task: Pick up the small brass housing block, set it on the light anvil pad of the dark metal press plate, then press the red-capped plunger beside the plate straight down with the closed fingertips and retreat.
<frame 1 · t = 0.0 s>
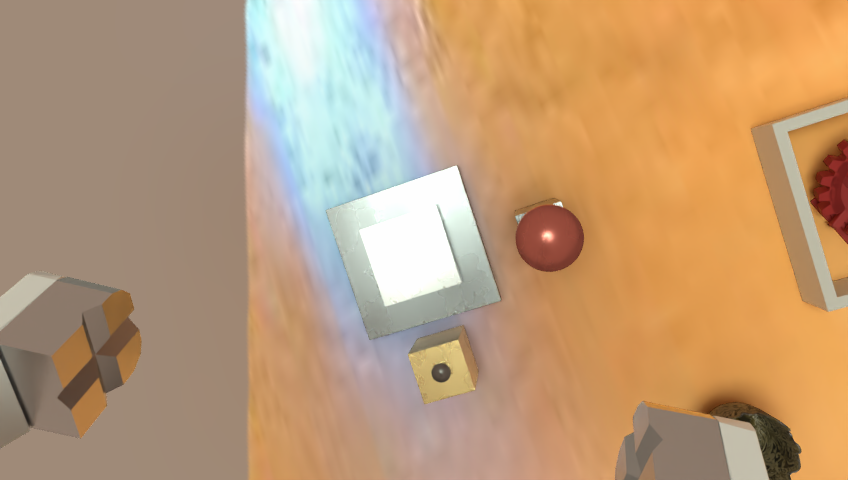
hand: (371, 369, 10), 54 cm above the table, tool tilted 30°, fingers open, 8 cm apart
plunger: (545, 232, 53), point 10 cm above the table, slide at 0.0 cm
cup: (723, 420, 63), on the table
press: (413, 253, 65), on the table
housing: (447, 354, 66), on the table
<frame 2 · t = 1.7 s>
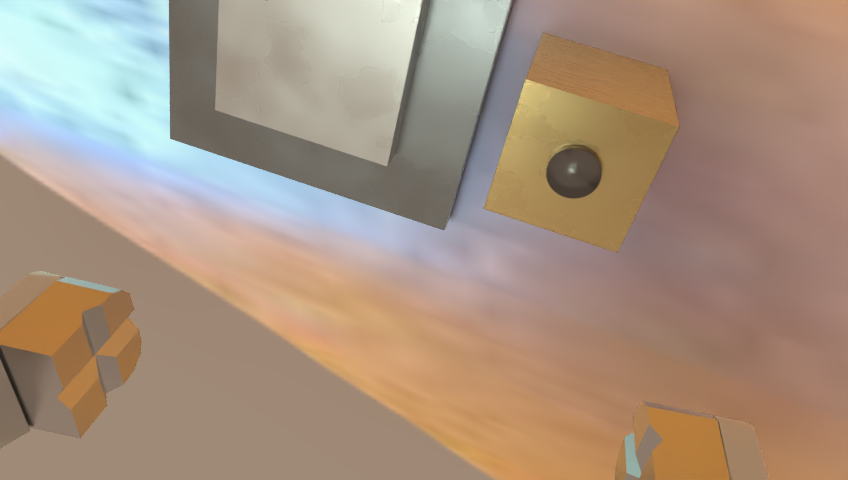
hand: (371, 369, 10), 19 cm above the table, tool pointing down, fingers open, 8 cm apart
press: (333, 32, 27), on the table
housing: (582, 108, 26), on the table
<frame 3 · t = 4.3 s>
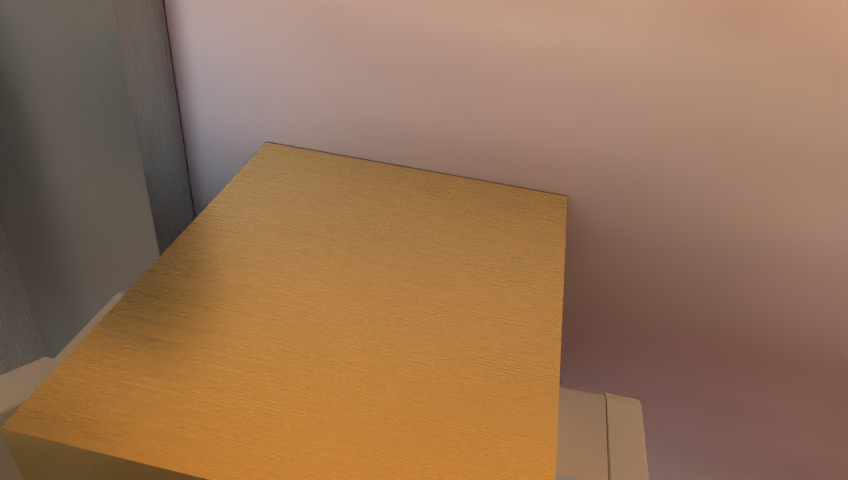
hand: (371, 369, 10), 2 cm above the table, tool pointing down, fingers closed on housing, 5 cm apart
housing: (402, 287, 12), on the table, touching gripper
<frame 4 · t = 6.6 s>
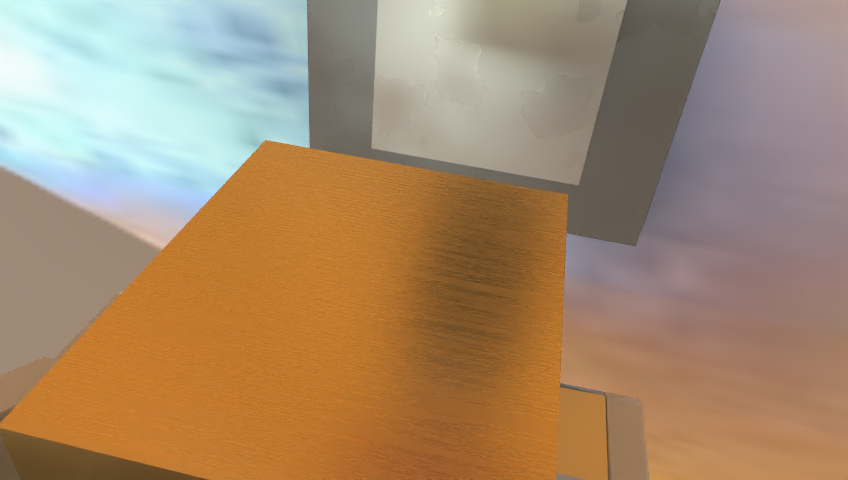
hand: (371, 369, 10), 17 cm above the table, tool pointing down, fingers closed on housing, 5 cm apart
press: (496, 42, 24), on the table
housing: (402, 286, 12), point 15 cm above the table, touching gripper
when the fingers open (6 cm above the table, at t = 9.1 s): housing stays where it is, resting on press.
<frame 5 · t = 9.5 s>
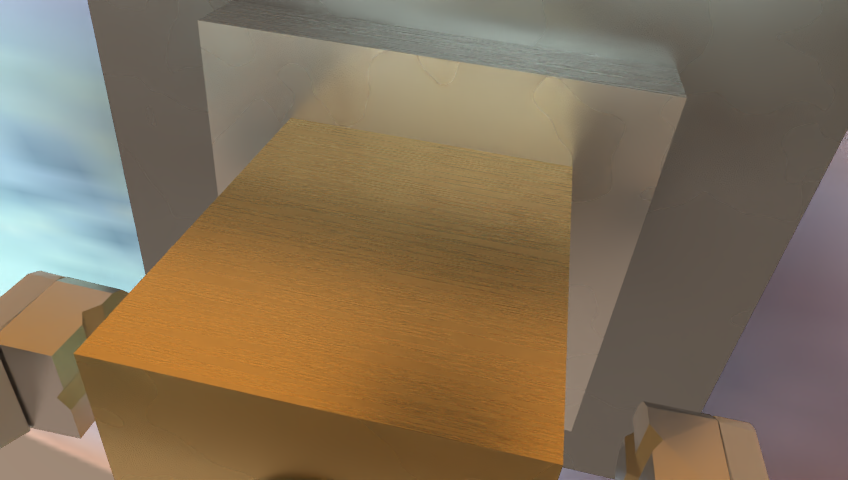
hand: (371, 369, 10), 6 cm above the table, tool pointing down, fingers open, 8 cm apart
press: (435, 193, 15), on the table
housing: (416, 256, 13), point 2 cm above the table, touching press
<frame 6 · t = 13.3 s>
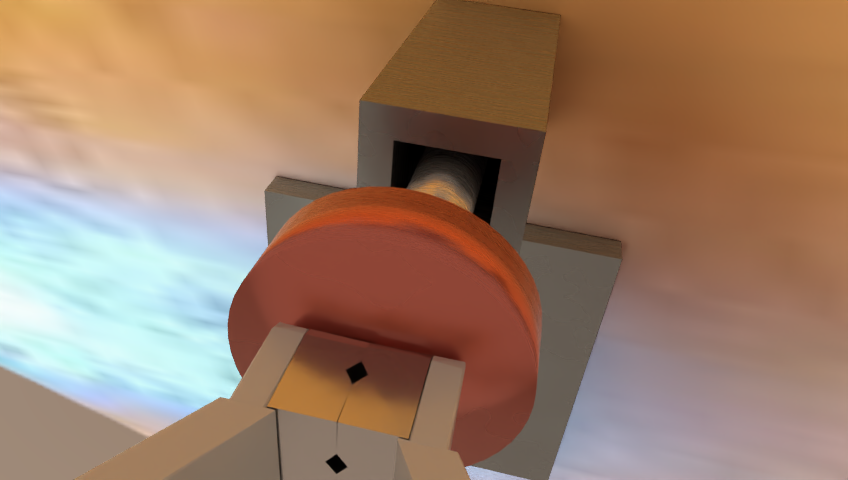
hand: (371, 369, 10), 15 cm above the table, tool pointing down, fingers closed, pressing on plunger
plunger: (438, 203, 14), point 9 cm above the table, slide at 1.0 cm, touching gripper
press: (427, 335, 29), on the table
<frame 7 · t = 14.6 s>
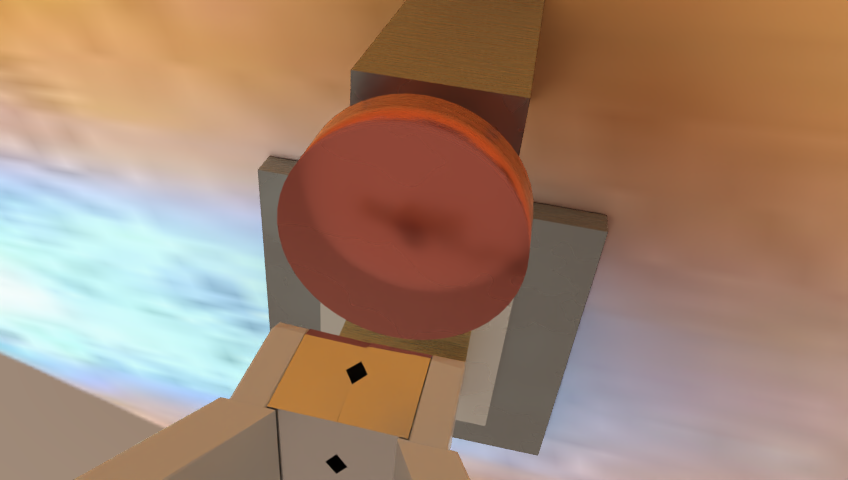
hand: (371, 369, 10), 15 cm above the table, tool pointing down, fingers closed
plunger: (443, 129, 17), point 7 cm above the table, slide at 3.1 cm
press: (419, 312, 30), on the table
housing: (410, 349, 28), point 2 cm above the table, touching press
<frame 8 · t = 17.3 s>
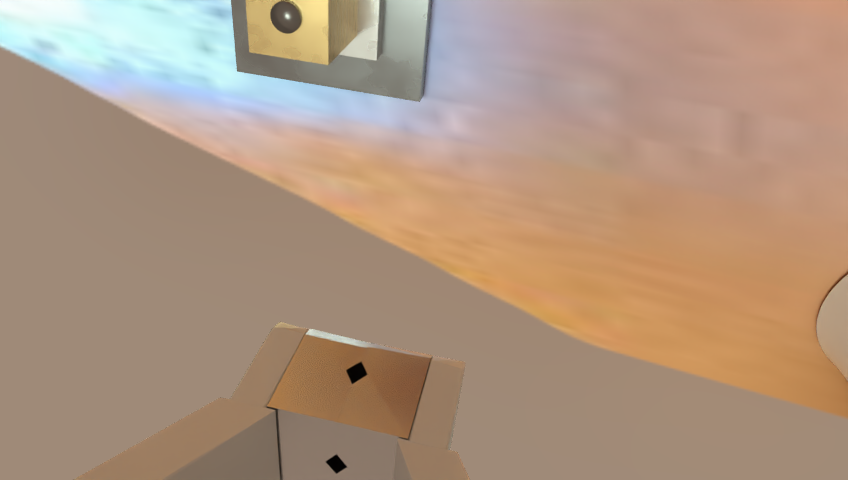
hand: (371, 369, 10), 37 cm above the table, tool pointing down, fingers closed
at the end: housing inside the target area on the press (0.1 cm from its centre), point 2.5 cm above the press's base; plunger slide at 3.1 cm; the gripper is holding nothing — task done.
